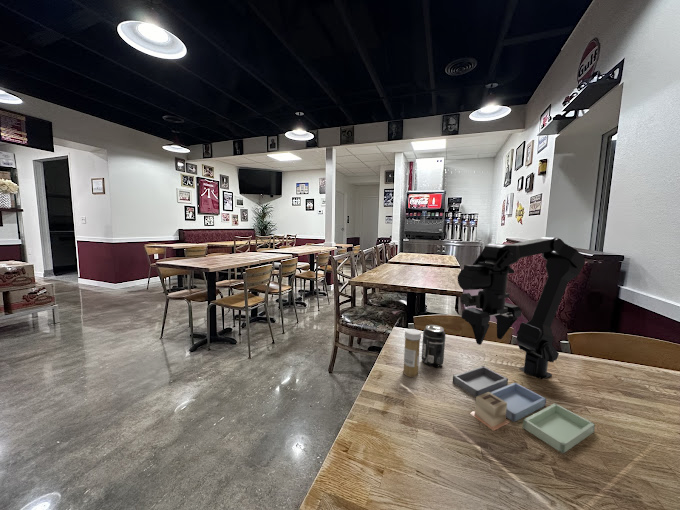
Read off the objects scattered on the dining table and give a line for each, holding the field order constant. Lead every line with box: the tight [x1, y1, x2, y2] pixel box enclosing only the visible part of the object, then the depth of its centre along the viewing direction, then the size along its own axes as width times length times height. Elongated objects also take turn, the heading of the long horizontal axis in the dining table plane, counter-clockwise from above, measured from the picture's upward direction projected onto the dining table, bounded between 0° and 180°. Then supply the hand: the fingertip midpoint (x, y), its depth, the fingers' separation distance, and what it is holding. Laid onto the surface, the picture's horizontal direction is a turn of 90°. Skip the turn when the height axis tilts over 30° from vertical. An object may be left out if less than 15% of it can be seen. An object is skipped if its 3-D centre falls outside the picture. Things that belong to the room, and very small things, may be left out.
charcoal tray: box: [452, 365, 509, 398], centre depth 76 cm, size 13×8×2 cm, turn 117°
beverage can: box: [421, 324, 446, 368], centre depth 88 cm, size 7×7×12 cm
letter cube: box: [474, 392, 507, 427], centre depth 63 cm, size 4×4×5 cm
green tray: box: [522, 403, 596, 455], centre depth 60 cm, size 13×8×2 cm, turn 117°
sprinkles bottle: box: [402, 328, 422, 378], centre depth 81 cm, size 5×5×14 cm
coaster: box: [469, 410, 511, 432], centre depth 63 cm, size 6×6×1 cm
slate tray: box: [490, 382, 547, 423], centre depth 68 cm, size 13×8×2 cm, turn 117°
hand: (489, 341), depth 78 cm, fingers open, 9 cm apart
